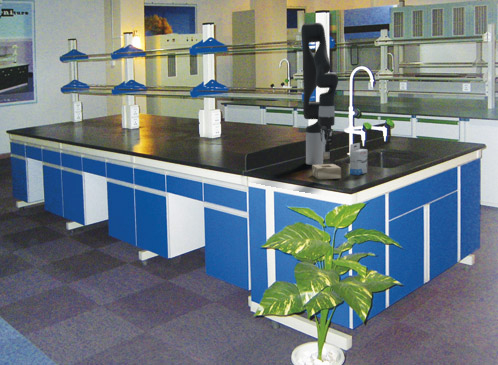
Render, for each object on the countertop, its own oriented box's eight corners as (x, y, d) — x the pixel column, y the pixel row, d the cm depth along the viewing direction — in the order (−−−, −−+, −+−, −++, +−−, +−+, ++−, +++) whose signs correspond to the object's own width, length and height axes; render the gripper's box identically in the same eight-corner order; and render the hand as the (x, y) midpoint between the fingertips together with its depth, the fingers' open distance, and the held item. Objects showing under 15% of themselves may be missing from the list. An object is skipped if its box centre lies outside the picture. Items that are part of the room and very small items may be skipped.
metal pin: (321, 158, 293) (322, 133, 290) (328, 158, 293) (328, 133, 291) (323, 159, 290) (324, 134, 287) (330, 159, 290) (330, 134, 288)
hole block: (312, 175, 298) (312, 165, 297) (333, 173, 300) (333, 163, 299) (318, 179, 287) (318, 169, 286) (340, 178, 289) (341, 167, 288)
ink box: (357, 175, 295) (358, 145, 292) (349, 174, 298) (349, 144, 295) (367, 172, 301) (368, 143, 298) (359, 171, 304) (359, 142, 301)
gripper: (314, 114, 294) (314, 149, 297) (323, 117, 280) (323, 153, 283) (329, 113, 295) (329, 149, 298) (338, 116, 281) (338, 153, 285)
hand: (326, 151), depth 291 cm, fingers closed on metal pin, 3 cm apart
